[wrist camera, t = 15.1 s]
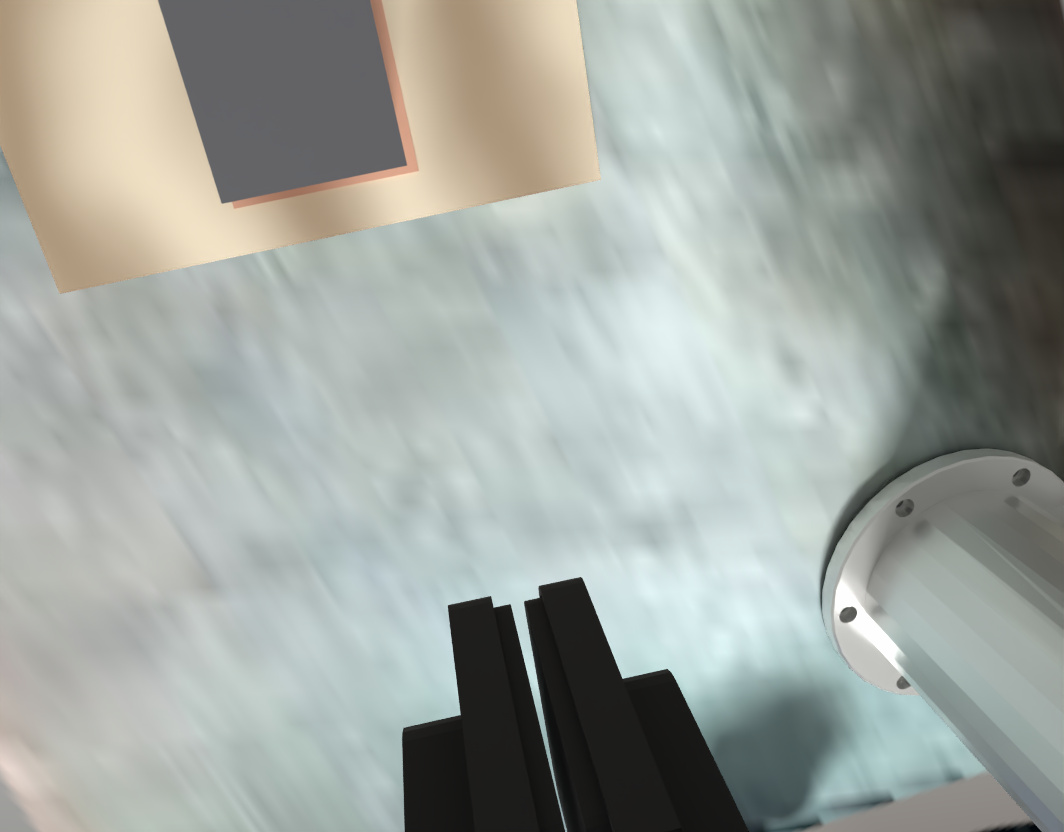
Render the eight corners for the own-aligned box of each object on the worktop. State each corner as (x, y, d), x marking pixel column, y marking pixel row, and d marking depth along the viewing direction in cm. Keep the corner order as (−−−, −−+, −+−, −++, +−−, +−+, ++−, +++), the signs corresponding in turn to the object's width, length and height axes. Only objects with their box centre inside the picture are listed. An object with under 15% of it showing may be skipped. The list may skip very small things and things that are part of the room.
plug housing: (319, -185, 25) (313, -250, 20) (395, 143, 29) (407, 165, 23) (146, -157, 24) (89, -216, 19) (245, 174, 28) (221, 203, 23)
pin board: (523, -312, 26) (551, -368, 22) (592, 175, 32) (622, 190, 28) (-128, -217, 24) (-206, -262, 20) (70, 284, 30) (34, 315, 26)
